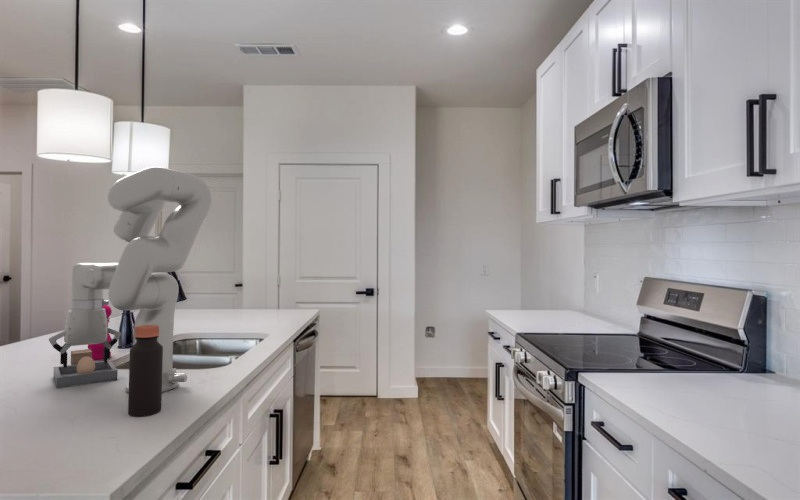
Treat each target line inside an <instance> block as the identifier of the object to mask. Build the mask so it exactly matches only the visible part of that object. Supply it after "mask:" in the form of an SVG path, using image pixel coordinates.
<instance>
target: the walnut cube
mask: <svg viewBox="0 0 800 500" xmlns="http://www.w3.org/2000/svg"><path fill="white" fill-rule="evenodd" d="M83 357H91V358H92V351H91V350H90V349H88V348H86V349H79V350H77V349H76V350H70V365H76V364H78V362H79V361H80V360H81V359H82V358H83Z"/></svg>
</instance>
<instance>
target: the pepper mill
mask: <svg viewBox="0 0 800 500" xmlns="http://www.w3.org/2000/svg"><path fill="white" fill-rule="evenodd" d="M103 309H105V311H106V318H107V328H109V323H110V322H111V321H110V316H111V315H112V313H113V312H112V311H113V310H112V308H111V306H109V304H108V305H104V306H103ZM112 339H113V338H112V337H111V334H110V333H108V332H107V342H108V343H109V342H110V341H111V340H112ZM104 347H105V346H104V345H103V344H102V343H99V344H89V345H87V349H90V350H91V351H92V359H93V360H94V361H99V360H102V361H103V348H104ZM112 348H113V346H112V347H111V348H110V350H111V349H112ZM111 357H112V351H110V358H111Z"/></svg>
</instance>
